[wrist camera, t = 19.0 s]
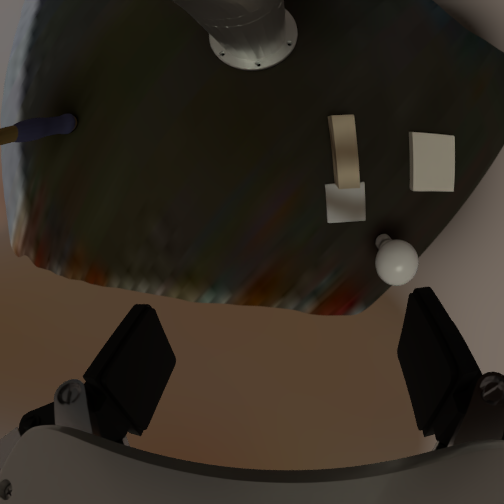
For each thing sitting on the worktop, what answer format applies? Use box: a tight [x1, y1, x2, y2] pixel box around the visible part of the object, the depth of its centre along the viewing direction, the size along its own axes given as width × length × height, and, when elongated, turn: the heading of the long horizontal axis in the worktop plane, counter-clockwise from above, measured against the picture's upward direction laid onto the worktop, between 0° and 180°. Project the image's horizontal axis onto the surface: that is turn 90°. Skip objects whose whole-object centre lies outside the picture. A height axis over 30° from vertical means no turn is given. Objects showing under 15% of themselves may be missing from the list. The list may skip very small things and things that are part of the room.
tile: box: [409, 132, 455, 191], centre depth 34 cm, size 2×8×9 cm
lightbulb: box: [375, 234, 418, 286], centre depth 37 cm, size 6×6×11 cm
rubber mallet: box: [0, 114, 77, 145], centre depth 26 cm, size 12×8×30 cm, turn 124°
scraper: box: [325, 115, 365, 223], centre depth 36 cm, size 16×6×4 cm, turn 9°
